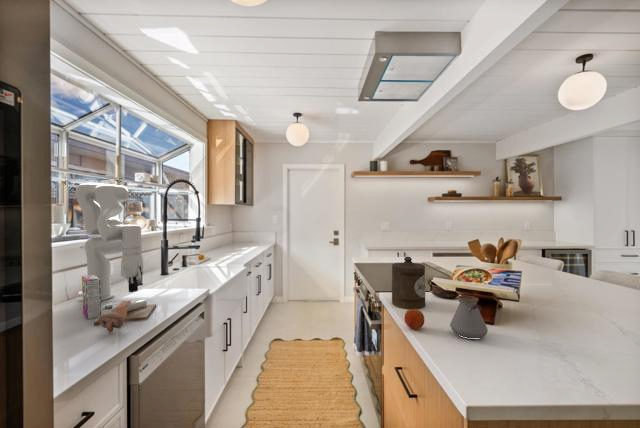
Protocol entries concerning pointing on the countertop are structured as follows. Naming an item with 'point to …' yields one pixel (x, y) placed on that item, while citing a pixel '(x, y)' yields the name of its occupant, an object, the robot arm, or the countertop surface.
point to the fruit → (414, 319)
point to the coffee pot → (468, 318)
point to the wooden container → (408, 284)
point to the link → (130, 307)
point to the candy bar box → (91, 296)
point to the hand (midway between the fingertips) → (133, 291)
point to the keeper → (123, 308)
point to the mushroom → (111, 321)
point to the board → (136, 314)
